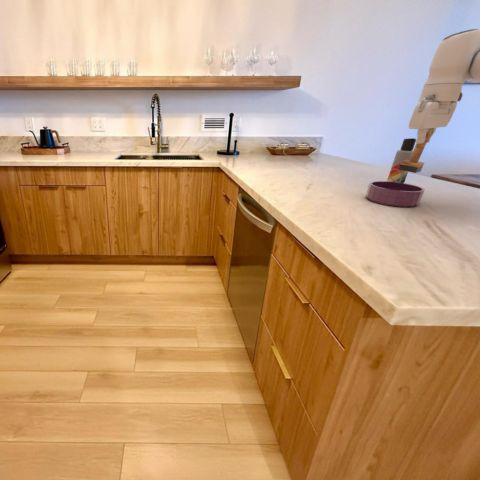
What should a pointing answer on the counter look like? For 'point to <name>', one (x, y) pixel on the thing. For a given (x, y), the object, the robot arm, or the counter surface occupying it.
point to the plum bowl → (394, 193)
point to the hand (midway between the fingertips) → (422, 143)
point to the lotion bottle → (401, 155)
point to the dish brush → (415, 158)
